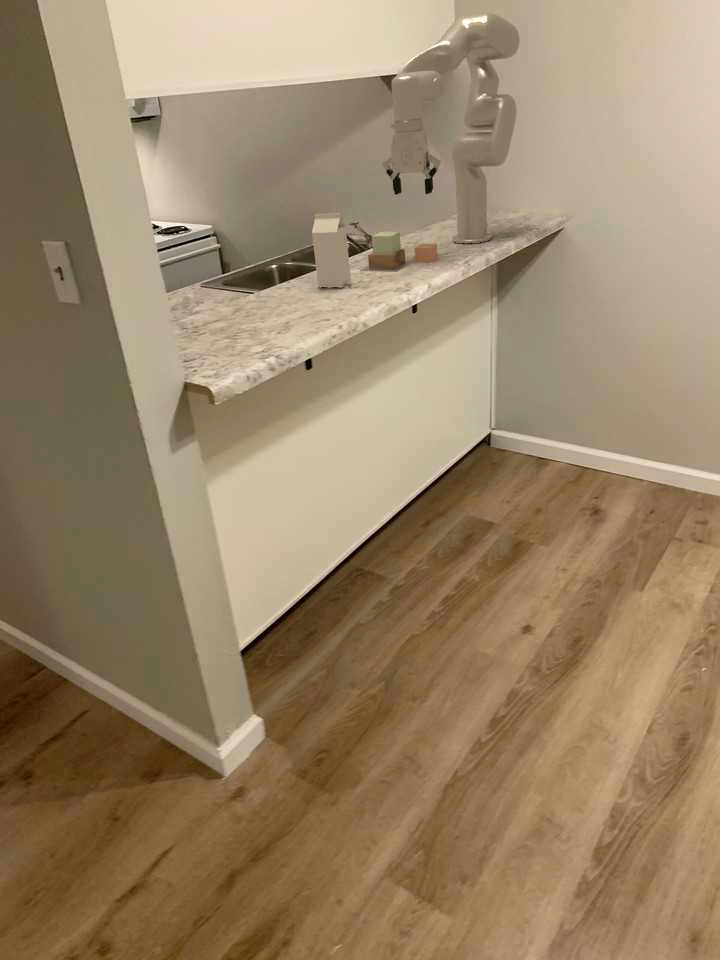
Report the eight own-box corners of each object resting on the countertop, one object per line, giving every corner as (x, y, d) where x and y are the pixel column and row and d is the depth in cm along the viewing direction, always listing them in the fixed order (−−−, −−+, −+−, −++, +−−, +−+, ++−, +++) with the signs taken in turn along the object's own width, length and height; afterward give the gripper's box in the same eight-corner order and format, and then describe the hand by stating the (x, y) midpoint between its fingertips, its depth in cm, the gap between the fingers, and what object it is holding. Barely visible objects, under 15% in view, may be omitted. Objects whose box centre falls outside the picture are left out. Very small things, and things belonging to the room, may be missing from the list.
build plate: (378, 262, 222) (378, 260, 221) (414, 263, 216) (414, 261, 216) (360, 273, 213) (359, 270, 212) (397, 274, 207) (397, 271, 207)
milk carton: (342, 288, 200) (334, 216, 190) (318, 288, 202) (309, 217, 193) (351, 281, 205) (344, 210, 196) (327, 281, 208) (319, 211, 198)
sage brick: (382, 249, 216) (381, 231, 213) (400, 249, 213) (399, 231, 211) (373, 254, 211) (371, 236, 209) (391, 254, 209) (390, 236, 206)
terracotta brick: (422, 260, 220) (421, 243, 217) (437, 261, 217) (437, 243, 215) (415, 264, 216) (414, 247, 213) (431, 265, 214) (430, 247, 211)
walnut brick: (381, 262, 219) (380, 248, 217) (405, 262, 215) (404, 248, 213) (369, 268, 213) (367, 254, 211) (393, 269, 209) (392, 255, 207)
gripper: (374, 130, 200) (380, 196, 208) (432, 127, 191) (435, 195, 200) (386, 126, 205) (392, 191, 214) (443, 123, 197) (446, 190, 205)
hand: (413, 193), depth 207 cm, fingers open, 9 cm apart
